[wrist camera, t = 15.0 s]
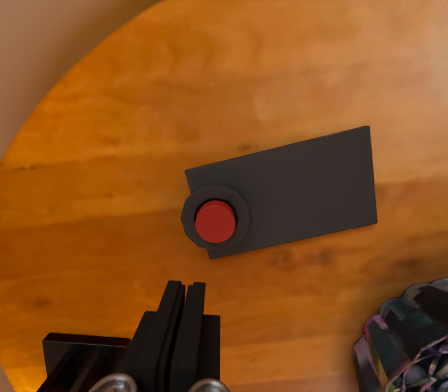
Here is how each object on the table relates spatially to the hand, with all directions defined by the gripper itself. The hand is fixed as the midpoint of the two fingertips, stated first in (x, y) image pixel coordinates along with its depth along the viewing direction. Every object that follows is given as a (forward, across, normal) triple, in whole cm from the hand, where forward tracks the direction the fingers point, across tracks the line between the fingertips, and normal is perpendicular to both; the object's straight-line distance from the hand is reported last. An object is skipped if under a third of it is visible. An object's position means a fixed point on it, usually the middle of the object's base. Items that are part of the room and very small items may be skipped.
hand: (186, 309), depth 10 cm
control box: (+14, -8, -2) cm, 16 cm away
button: (+12, -1, 0) cm, 12 cm away
